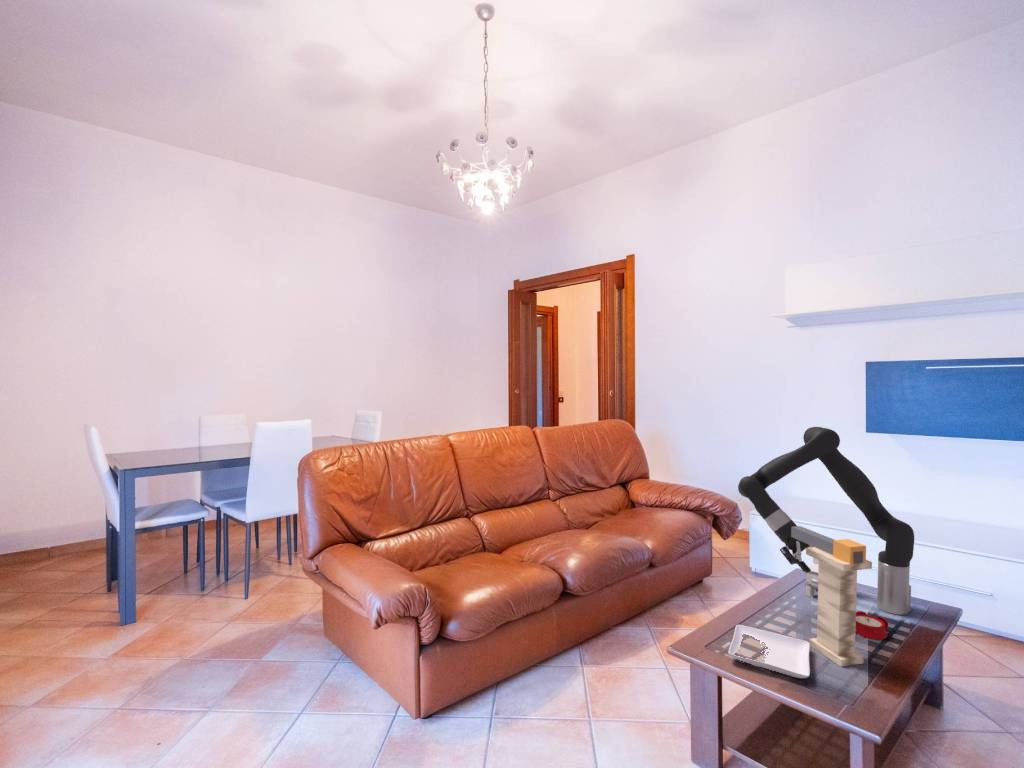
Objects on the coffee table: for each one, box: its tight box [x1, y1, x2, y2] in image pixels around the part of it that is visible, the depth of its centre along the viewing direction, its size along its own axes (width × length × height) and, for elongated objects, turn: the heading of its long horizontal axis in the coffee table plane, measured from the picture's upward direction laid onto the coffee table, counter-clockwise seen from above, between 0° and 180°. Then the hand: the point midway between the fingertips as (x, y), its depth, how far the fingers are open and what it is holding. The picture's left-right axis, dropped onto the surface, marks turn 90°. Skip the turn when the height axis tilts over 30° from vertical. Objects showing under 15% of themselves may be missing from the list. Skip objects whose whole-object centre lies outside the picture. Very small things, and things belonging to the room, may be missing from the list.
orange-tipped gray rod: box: [791, 525, 867, 564], centre depth 160 cm, size 6×24×5 cm, turn 12°
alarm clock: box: [855, 610, 889, 640], centre depth 171 cm, size 10×6×15 cm
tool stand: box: [805, 547, 873, 667], centre depth 156 cm, size 10×14×31 cm
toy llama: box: [805, 557, 819, 598], centre depth 198 cm, size 8×18×20 cm, turn 136°
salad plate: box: [727, 624, 811, 679], centre depth 155 cm, size 21×21×3 cm
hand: (817, 565), depth 172 cm, fingers open, 8 cm apart
